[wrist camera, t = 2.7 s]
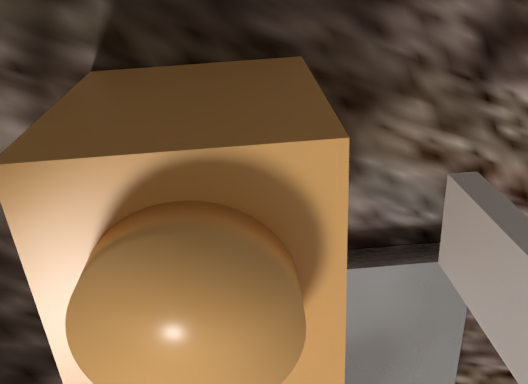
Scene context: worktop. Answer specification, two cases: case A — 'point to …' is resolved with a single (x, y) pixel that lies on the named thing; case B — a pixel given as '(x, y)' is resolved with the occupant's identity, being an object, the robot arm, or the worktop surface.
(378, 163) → the worktop surface
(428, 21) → the worktop surface
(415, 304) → the plate with brass peg
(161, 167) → the cube with dome top
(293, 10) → the worktop surface
